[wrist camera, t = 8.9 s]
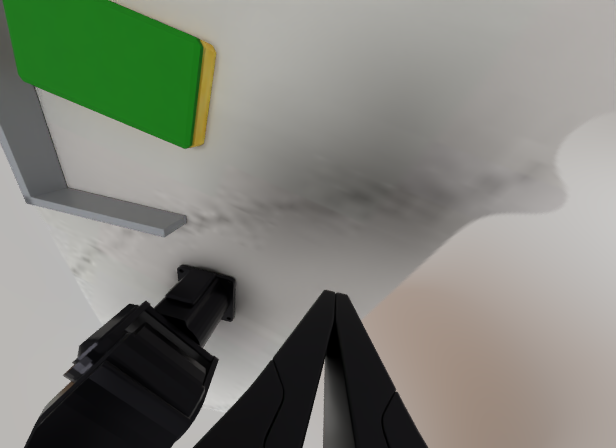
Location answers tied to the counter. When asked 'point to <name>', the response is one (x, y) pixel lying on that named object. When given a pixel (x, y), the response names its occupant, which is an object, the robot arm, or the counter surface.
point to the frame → (44, 163)
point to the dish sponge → (115, 64)
